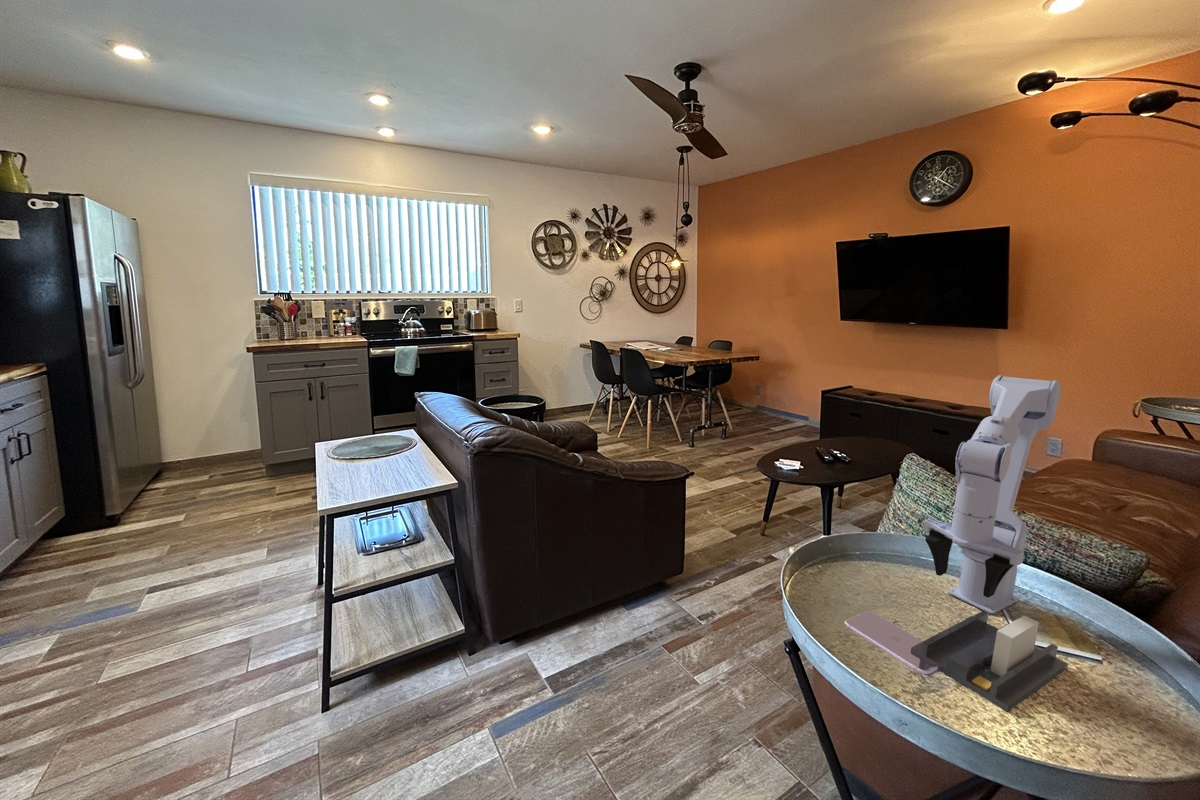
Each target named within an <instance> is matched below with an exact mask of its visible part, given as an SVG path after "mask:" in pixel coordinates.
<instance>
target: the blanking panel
mask: <svg viewBox="0 0 1200 800" xmlns="http://www.w3.org/2000/svg"><path fill="white" fill-rule="evenodd" d="M1009 623H1010V624H1008V623H1007V624H1008V625H1007V624H1005V625H1006V626H1005V625H1004V626H1005V627H1003V626H1002V627H1003V628H1001V627H1000V628H1001V629H1000V628H998V629H999V630H997V635H996V640H995V646H994V652H993V658H992V664H991V670H990V671H992V672H994V673H996V674H998V675H999V676H1003V675H1004V674H1006V673H1007V672H1009V671H1010V670H1012V669H1013V668H1015V667H1016V666H1018V665H1020V664H1021V663H1023V662H1024V661H1026V660H1027V659H1029V658H1030V657H1032V656H1033V652H1034V647H1036V640H1037V635H1038V630H1039V626H1040V625H1039V624H1040V622H1039V621H1038V620H1035V619H1032V618H1031V617H1028V616H1026V615H1022V616H1020V617H1018V618H1017V619H1015V620H1013V621H1011V622H1009Z"/></svg>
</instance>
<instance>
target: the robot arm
mask: <svg viewBox="0 0 1200 800" xmlns="http://www.w3.org/2000/svg"><path fill="white" fill-rule="evenodd" d="M1061 385H1062V384H1061V383H1060V382H1059V381H1058V380H1055V379H1054V380H1043V379H1037V378H1036V379H1034V378H1023V377H1016V376H1015V377H1013V376H1004V375H997V376H996V377H994V378H993V380H992V382H991V385H990V388H989V396H988V398H989V399H988V401H989V404H990V414H991V415H990V416H987V417H984V418H983V419H982V420H981V421H980V422H979V425H978V426H977V428H976V430H975V432H974V433H973V434H972V436H971V438H970V439H968V440H967V441H966V442H965V441H962V442H961V443H960V444H959V446H958V449H957V451H956V456H955V479H954V480H955V483H957V488H956V494H955V500H954V508H953V513H952V514H953V515H952V523H949V522H945V521H943V520H941V521H940V520H937V519H935V518H928V519H925V520H923V521H924V523H923V529H922V530H923V531H924V532H927V533H928V535H926V536H925V540H924V541H925V543H927V544H926V545H927V546H928V548H929V549H930V553H931V556H932V559H933V563H934V568H935V575H937V576H939V577H941V576H943V575H945V574H946V573H947V571H948V567H949V560H950V559H949V558H950V552H951V550H952V546H953V543H954V544H956V545H957V547H958V548H960V549H961V551H960V553H961V554H962V555H963V556H962V557H963V558H962V565H961V572H960V577H959V585H958V586H956V587H954V588H952V589H949V590H947V593H948V594H949V595H951V596H953V597H955V598H957V599H959V600H962V601H963V602H965V603H968V604H970V605H972V606H974V607H975V608H977V609H979V610H981V611H985V612H987V613H988V614H990V615H994V614H996V613H998V612H1000V611H1002V610H1004V609H1006V608H1007V607H1009V606H1011V605H1013V604H1014V603H1017V602H1019V598H1018V597H1017V596H1014V592H1015V591H1014V590H1015V586H1016V585H1015V584H1016V580H1017V573H1018V566H1020V565H1021V564H1024V563H1023V562H1024V558H1025V552H1024V551H1025V547H1026V540H1027V539H1026V538H1027V534H1028V533H1027V532H1028V527H1027V524H1026V523H1025V522H1024V520H1022V519H1021V518H1020V516H1018V515H1017V514H1016V513H1015V511H1014V507H1015V504H1016V502H1017V501H1016V499H1017V497H1018V494H1019V489H1020V486H1021V482H1022V478H1023V475H1024V472H1025V467H1026V464H1027V461H1028V457H1029V453H1030V450H1031V447H1032V446H1031V445H1032V443H1033V440H1034V438H1035V437H1036V435H1037V433H1038V431H1041V430H1044V429H1045V430H1046V429H1048V428H1051V425H1052V423H1053V422H1054V421H1055V417H1056V413H1057V409H1058V406H1059V403H1060V400H1061V399H1060V397H1061V393H1062V386H1061ZM1005 607H1006V608H1005Z"/></svg>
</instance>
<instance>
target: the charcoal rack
mask: <svg viewBox="0 0 1200 800" xmlns="http://www.w3.org/2000/svg"><path fill="white" fill-rule="evenodd" d="M988 616H989V613H988V612H986V611H984V610H981V611H980V612H978V613H976V614H973V615H971V616H969V617H967V618H964V620H961V621H959V622H957V623H955V624H953V625H951V626H949V627H948V628H945V629H944V630H942V631H940V632H938V633H936V634H935V635H933V636H931V637H928V638H926V639H925V640H922V641H923V642H921V643H919V644H917V645H915V646H913V647H911V651H913V652H914V653H916V654H918V655H919V656H921V657H922V658H924V659H926V660H927V661H929V662H931V663H932V664H934V665H936V666H937V668H938V669H937V671H940V672H941V673H943V674H945V675H946V676H948V677H950V678H952V679H953V680H955V681H956V682H958V683H959V684H960V685H962V686H964V687H965V688H968V689H969V690H971V691H972V692H974V693H975V694H977V695H979V696H981V697H982V698H984V699H986V700H987V701H988V702H990V703H992V704H994V705H996V706H997V707H999V708H1000V709H1002V710H1004V711H1005V712H1007V713H1008V712H1009V711H1010V710H1012V709H1014V708H1015V707H1016V706H1018V705H1019V704H1021V703H1022V702H1023V701H1024V700H1026V699H1027V698H1029V697H1030V696H1032V695H1033V694H1035V693H1036V692H1038V691H1039V690H1040V689H1041V688H1043V687H1044V686H1046V685H1047V684H1049V683H1050V682H1051V681H1053V680H1054V679H1055V678H1058V676H1060V675H1061V674H1063V673H1064V672H1065V671H1067V670H1068V667H1069V663H1068V662H1066V661H1064V660H1062V659H1060V658H1057V653H1058V649H1059V648H1058V647H1059V646H1058V645H1056V644H1054V643H1051V644H1049V645H1047V646H1046V647H1044V648H1043V649H1039V648H1037V647H1036V646H1035V647H1034V652H1033V656H1032V657H1030V658H1029V659H1027V660H1026V661H1024V662H1023V663H1021V664H1020V665H1018V666H1016V667H1015V668H1013V669H1012V670H1010V671H1009V672H1007V673H1006V674H1004V675H1003V676H999V675H998V674H996V673H994V672H992V671H990V670H991V664H992V658H993V652H994V646H995V640H996V635H997V630H999V629H1001V628H1003V627H1005V626H1006V625H1008V624H1010V623H1011V622H1009V623H1007V624H1005V625H1003V626H1001V627H1000V628H997V627H996V626H994V625H992V624H989V623H988V618H989V617H988Z"/></svg>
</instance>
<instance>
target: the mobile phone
mask: <svg viewBox="0 0 1200 800" xmlns="http://www.w3.org/2000/svg"><path fill="white" fill-rule="evenodd" d="M845 624H846V625H847V626H846V625H845ZM844 625H845V626H846V627H847V628H848V627H849V628H848V629H850V630H851V629H852V630H851V631H853V632H855V633H856V634H858V635H860V636H861V637H863V638H864V639H866V640H867V641H869V642H871V643H872V644H873V645H875V646H877V647H879V648H880V649H882V650H883V651H885V652H886V653H888V654H889V655H891V656H893V657H894V658H895V659H897V660H898V661H901V662H902V663H903V664H904V665H907V666H908V667H909V668H911V669H913V670H914V671H916V672H918V673H920V674H923V675H930V674H932V673H934V672H936V671H938V668H937V666H936V665H934V664H932V663H931V662H929V661H927V660H926V659H924V658H922V657H921V656H919V655H918V654H916V653H914V652H913V651H911V647H913V646H915V645H917V644H919V643H921V642H923V641H924V640H921V639H920V638H917V637H916V636H914V635H913V634H911V633H909V632H907V631H906V630H904V629H903V628H901V627H899V626H897V625H895V624H894V623H892V622H890V621H889V620H887V619H885V618H883V617H882V616H880V615H878V614H876V613H875V612H873V611H869V610H867V611H864V612H862V613H860V614H857V615H855V616H853V617H851V618H850V617H849V618H848V619H846V620H845V621H844Z"/></svg>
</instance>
